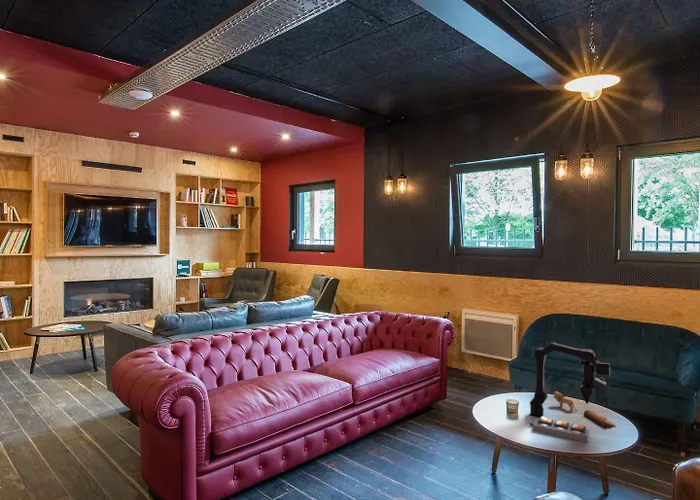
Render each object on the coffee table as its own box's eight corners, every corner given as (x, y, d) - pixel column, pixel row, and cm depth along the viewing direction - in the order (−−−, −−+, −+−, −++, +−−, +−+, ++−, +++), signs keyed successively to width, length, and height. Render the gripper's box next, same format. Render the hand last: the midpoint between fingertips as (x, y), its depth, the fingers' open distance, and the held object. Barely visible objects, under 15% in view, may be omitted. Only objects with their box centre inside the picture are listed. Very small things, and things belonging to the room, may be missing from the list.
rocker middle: (556, 426, 243) (555, 423, 243) (557, 423, 246) (556, 421, 246) (566, 426, 240) (566, 423, 240) (567, 423, 243) (567, 421, 243)
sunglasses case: (618, 427, 247) (613, 417, 247) (608, 434, 247) (603, 424, 246) (596, 414, 265) (591, 405, 264) (587, 421, 264) (581, 411, 264)
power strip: (527, 429, 246) (527, 421, 246) (531, 422, 254) (531, 415, 254) (587, 442, 230) (587, 434, 230) (589, 435, 238) (589, 427, 238)
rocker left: (540, 420, 247) (540, 418, 247) (541, 418, 250) (542, 416, 250) (550, 424, 244) (550, 422, 244) (551, 422, 248) (551, 419, 247)
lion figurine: (551, 405, 279) (551, 391, 279) (556, 403, 282) (556, 389, 282) (575, 413, 267) (575, 398, 267) (579, 411, 270) (579, 396, 270)
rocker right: (572, 429, 238) (572, 426, 238) (573, 426, 241) (573, 424, 242) (583, 429, 235) (582, 427, 236) (584, 427, 239) (583, 424, 239)
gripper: (603, 380, 236) (603, 409, 237) (606, 371, 252) (605, 398, 253) (580, 376, 242) (579, 404, 243) (584, 367, 258) (583, 394, 259)
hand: (587, 400), depth 249 cm, fingers open, 9 cm apart
